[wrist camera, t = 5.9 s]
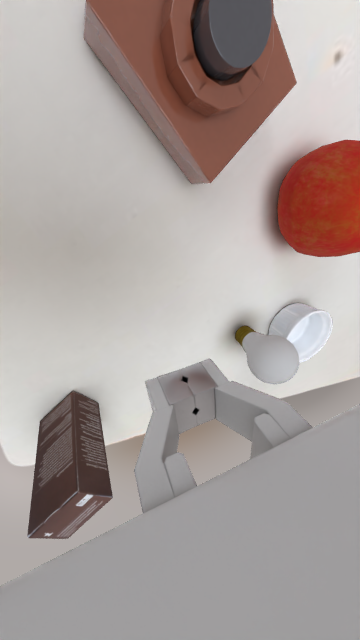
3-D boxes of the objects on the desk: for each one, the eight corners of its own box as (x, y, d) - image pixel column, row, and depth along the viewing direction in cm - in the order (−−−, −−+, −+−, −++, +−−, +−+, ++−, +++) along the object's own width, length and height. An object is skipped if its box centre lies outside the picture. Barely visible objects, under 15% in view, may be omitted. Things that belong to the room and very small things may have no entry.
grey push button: (179, 24, 14) (194, 1, 12) (227, -38, 13) (250, -71, 11) (218, 97, 16) (235, 86, 14) (260, 46, 15) (283, 29, 14)
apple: (246, 197, 26) (333, 200, 17) (321, 119, 25) (454, 82, 16) (282, 264, 32) (359, 293, 23) (343, 205, 31) (447, 211, 22)
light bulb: (222, 353, 35) (266, 402, 27) (220, 320, 32) (270, 364, 24) (255, 340, 37) (307, 383, 29) (257, 307, 34) (315, 345, 26)
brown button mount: (82, 38, 16) (86, -29, 11) (181, -98, 15) (232, -235, 10) (191, 184, 23) (223, 183, 18) (264, 98, 22) (318, 72, 17)
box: (70, 432, 32) (67, 541, 22) (38, 420, 29) (20, 539, 19) (102, 402, 31) (115, 499, 21) (74, 388, 29) (73, 491, 19)
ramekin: (254, 335, 36) (274, 351, 33) (293, 288, 35) (318, 299, 31) (282, 355, 41) (301, 370, 38) (317, 314, 40) (341, 327, 36)
